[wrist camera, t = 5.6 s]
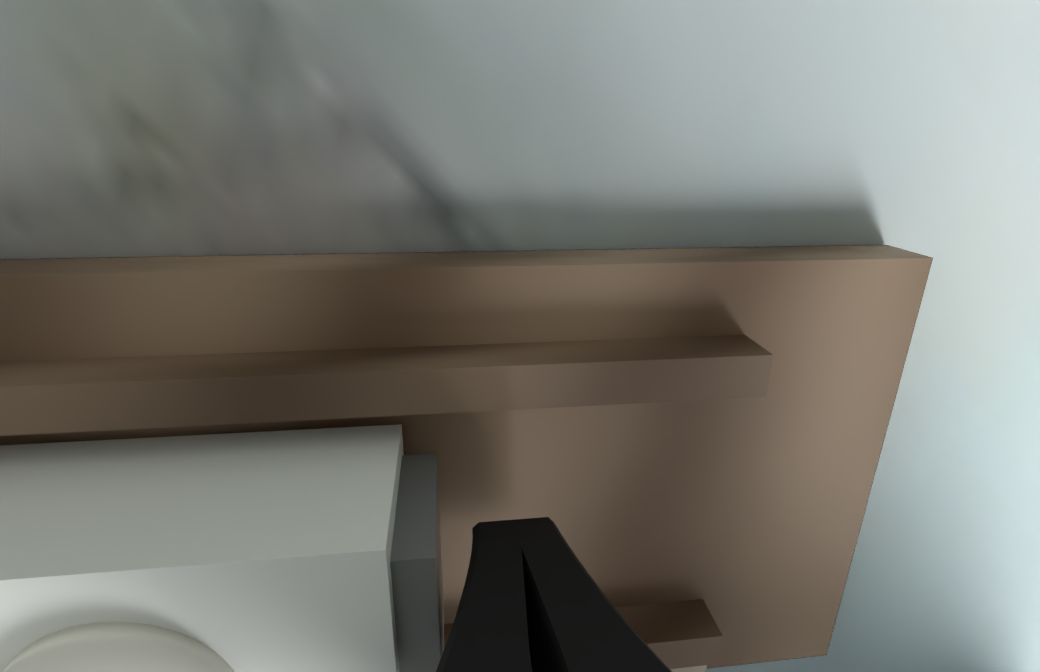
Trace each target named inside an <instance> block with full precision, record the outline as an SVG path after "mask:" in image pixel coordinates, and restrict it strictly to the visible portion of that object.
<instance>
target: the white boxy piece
mask: <svg viewBox="0 0 1040 672" xmlns="http://www.w3.org/2000/svg"><path fill="white" fill-rule="evenodd" d="M443 651H444V600H443V578H442V557H441V535H440V513H439V491H438V469H437V453H435V454H418V455H404V451H403V436H402V424H398V425H380V426H361V427H342V428H323V429H304V430H285V431H266V432H247V433H228V434H209V435H190V436H171V437H152V438H133V439H114V440H95V441H76V442H57V443H38V444H19V445H0V672H436V670H437V667H438V665H439V662H440V659H441V656H442V654H443Z"/></svg>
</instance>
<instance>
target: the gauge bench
mask: <svg viewBox="0 0 1040 672" xmlns="http://www.w3.org/2000/svg"><path fill="white" fill-rule="evenodd" d="M932 260H933V258H931V257H928V256H924V255H921V254H917V253H913V252H910V251H906V250H903V249H899V248H896V247H892V246H889V245H852V246H791V247H730V248H669V249H607V250H546V251H485V252H424V253H362V254H301V255H240V256H179V257H117V258H56V259H0V445H19V444H38V443H57V442H76V441H95V440H114V439H133V438H152V437H171V436H190V435H209V434H228V433H247V432H266V431H285V430H304V429H323V428H342V427H361V426H380V425H398V424H402V436H403V451H404V455H418V454H435V453H437V469H438V491H439V513H440V535H441V557H442V578H443V600H444V648H445V645H446V643H447V640H448V637H449V634H450V632H451V629H452V626H453V623H454V620H455V616H456V613H457V609H458V606H459V602H460V599H461V595H462V592H463V588H464V585H465V581H466V577H467V572H468V567H469V563H470V557H471V550H472V540H473V534H472V528H473V527H474V526H475V525H476V524H477V523H479V522H488V521H501V520H514V519H528V518H541V517H549V518H550V519H551V520H552V521H553V522H554V523H555V525H556V526H557V528H558V529H559V531H560V533H561V534H562V536H563V537H564V539H565V540H566V542H567V544H568V545H569V547H570V548H571V549H572V551H573V552H574V554H575V555H576V557H577V558H578V560H579V561H580V562H581V564H582V565H583V567H584V568H585V569H586V571H587V572H588V573H589V575H590V576H591V577H592V579H593V580H594V581H595V583H596V584H597V585H598V587H599V588H600V589H601V590H602V592H603V593H604V594H605V595H606V597H607V598H608V599H609V600H610V602H611V603H612V604H613V605H614V607H615V608H616V609H617V610H618V612H619V613H620V614H621V615H622V617H623V618H624V619H625V620H626V621H627V622H628V624H629V625H630V626H631V627H632V628H633V630H634V631H635V632H636V633H637V634H638V635H639V636H640V637H641V638H642V640H643V641H644V642H645V643H646V644H647V645H648V646H649V647H650V649H651V650H652V651H653V652H654V653H655V654H656V655H657V656H658V657H659V658H660V659H661V660H662V662H663V663H664V664H665V665H666V666H667V667H668V668H669V669H670V670H671V671H672V672H706V668H715V667H724V666H733V665H742V664H751V663H760V662H769V661H778V660H787V659H796V658H805V657H814V656H823V655H827V651H828V647H829V644H830V640H831V636H832V632H833V629H834V625H835V621H836V617H837V614H838V610H839V606H840V603H841V599H842V595H843V591H844V588H845V584H846V580H847V576H848V573H849V569H850V565H851V562H852V558H853V554H854V550H855V547H856V543H857V539H858V535H859V532H860V528H861V524H862V521H863V517H864V513H865V509H866V506H867V502H868V498H869V494H870V491H871V487H872V483H873V480H874V476H875V472H876V468H877V465H878V461H879V457H880V453H881V450H882V446H883V442H884V438H885V435H886V431H887V427H888V424H889V420H890V416H891V412H892V409H893V405H894V401H895V397H896V394H897V390H898V386H899V383H900V379H901V375H902V371H903V368H904V364H905V360H906V356H907V353H908V349H909V345H910V342H911V338H912V334H913V330H914V327H915V323H916V319H917V315H918V312H919V308H920V304H921V301H922V297H923V293H924V289H925V286H926V282H927V278H928V274H929V271H930V267H931V263H932Z"/></svg>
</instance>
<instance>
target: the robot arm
mask: <svg viewBox="0 0 1040 672" xmlns="http://www.w3.org/2000/svg"><path fill="white" fill-rule="evenodd" d="M472 534H473V540H472V550H471V557H470V563H469V567H468V572H467V577H466V581H465V585H464V588H463V592H462V595H461V599H460V602H459V606H458V609H457V613H456V616H455V620H454V623H453V626H452V629H451V632H450V634H449V637H448V640H447V643H446V645H445V648H444V651H443V654H442V656H441V659H440V662H439V665H438V667H437V670H436V672H672V671H671V670H670V669H669V668H668V667H667V666H666V665H665V664H664V663H663V662H662V660H661V659H660V658H659V657H658V656H657V655H656V654H655V653H654V652H653V651H652V650H651V649H650V647H649V646H648V645H647V644H646V643H645V642H644V641H643V640H642V638H641V637H640V636H639V635H638V634H637V633H636V632H635V631H634V630H633V628H632V627H631V626H630V625H629V624H628V622H627V621H626V620H625V619H624V618H623V617H622V615H621V614H620V613H619V612H618V610H617V609H616V608H615V607H614V605H613V604H612V603H611V602H610V600H609V599H608V598H607V597H606V595H605V594H604V593H603V592H602V590H601V589H600V588H599V587H598V585H597V584H596V583H595V581H594V580H593V579H592V577H591V576H590V575H589V573H588V572H587V571H586V569H585V568H584V567H583V565H582V564H581V562H580V561H579V560H578V558H577V557H576V555H575V554H574V552H573V551H572V549H571V548H570V547H569V545H568V544H567V542H566V540H565V539H564V537H563V536H562V534H561V533H560V531H559V529H558V528H557V526H556V525H555V523H554V522H553V521H552V520H551V519H550V518H549V517H541V518H528V519H514V520H501V521H488V522H479V523H477V524H476V525H475V526H474V527H473V528H472Z"/></svg>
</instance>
